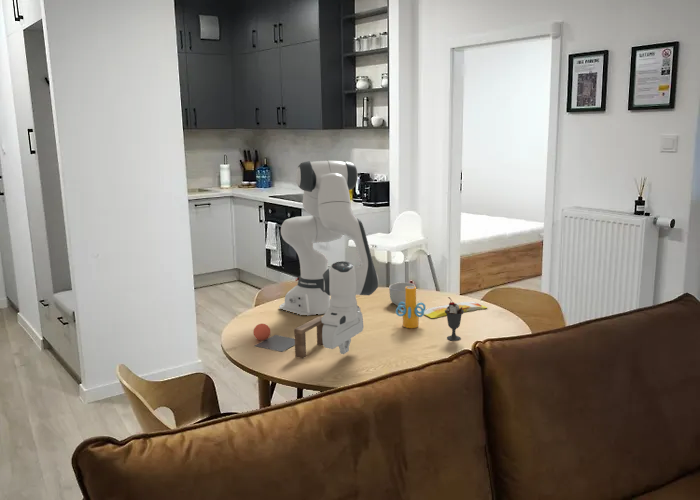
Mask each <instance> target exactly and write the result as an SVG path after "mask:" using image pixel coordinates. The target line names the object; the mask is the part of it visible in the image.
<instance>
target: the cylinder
mask: <svg viewBox="0 0 700 500" xmlns="http://www.w3.org/2000/svg"><path fill="white" fill-rule="evenodd" d="M401 304H404V306H403V305H401ZM421 305H422V306H421ZM402 308H403V309H402ZM418 309H420V310H418ZM425 310H426V304H425V303H424V302H418V303H417V287H416V285H415V286H407V287H405V303H404V302H400V303H399V304H398V305H397V307H396V309H395V314H396V315H397V316H398V317H402V326H403V327H404V328H406V329H415V328H418V327H419V326H420V325H419V324H420V323H419V321H420V320H419V318H422V317H423V316H425V315H424V311H425ZM399 311H400V312H401V314H400V313H399Z"/></svg>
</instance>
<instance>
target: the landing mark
mask: <svg viewBox="0 0 700 500" xmlns="http://www.w3.org/2000/svg"><path fill="white" fill-rule="evenodd" d="M254 347H258V348H261V349H267V350H271V351H275V352H281V353H283V352H285V351H287V350H288V349H290V348H292V347H295V337H294V338H293V337H290V336H289V337H288V336H283V335H280V334H279V335H278V334H274V335H272V336H269V337H268V339H266V340H263V341H260V342H259V343H257V344H254Z"/></svg>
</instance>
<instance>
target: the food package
mask: <svg viewBox="0 0 700 500" xmlns="http://www.w3.org/2000/svg"><path fill="white" fill-rule="evenodd" d="M454 303H455V302H454ZM455 304H457V305H458V306H459V308H461V307H462V310H463V311H464V313H467V312H474V311H479V310H485V309H488V306H485V305H483V304H481V303H477V302H475V301H461V302H457V303H455ZM448 306H449V304H444V305H440V306H433V307H429V308H427V309H426V308H425V311H424V315H423V316H426V317H428V318H430V319H438V318H443V317H447V314H446V313H445V310H446V309H447V307H448Z"/></svg>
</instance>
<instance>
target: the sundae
mask: <svg viewBox="0 0 700 500" xmlns="http://www.w3.org/2000/svg"><path fill="white" fill-rule="evenodd" d="M447 298H448V299H449V300H450V302H449V303H448V305H449V306H448V307H447V309H446V310H445V313H446V314H447V316H446V319H447V324H448V327H449V328H450V329H451V330H452V331H451V335H448V336H447V337H446V339H447V340H448V341H453V342H455V341H456V342H458V341H461V339H462V338H461V337H460V336H458V335H457V334H456V330H457V329H458V328H459V327H460V325H461V320H462V315H463V314H464V313H465V312H464V311H463V310H462V307H461V308H459V306H458V305H457V304H455V302H453V301H452V298H451V297H447Z"/></svg>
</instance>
